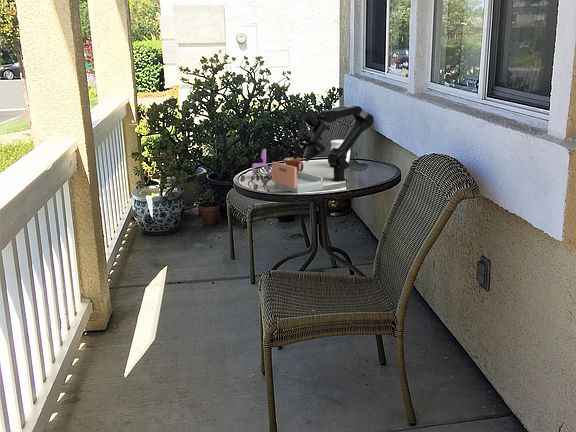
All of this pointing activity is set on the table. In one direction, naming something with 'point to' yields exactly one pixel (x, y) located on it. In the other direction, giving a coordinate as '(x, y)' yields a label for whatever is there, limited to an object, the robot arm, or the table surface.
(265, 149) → the toy chair
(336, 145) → the jar
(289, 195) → the table surface
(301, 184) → the bed
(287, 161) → the mug
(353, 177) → the table surface
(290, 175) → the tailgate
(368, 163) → the table surface
